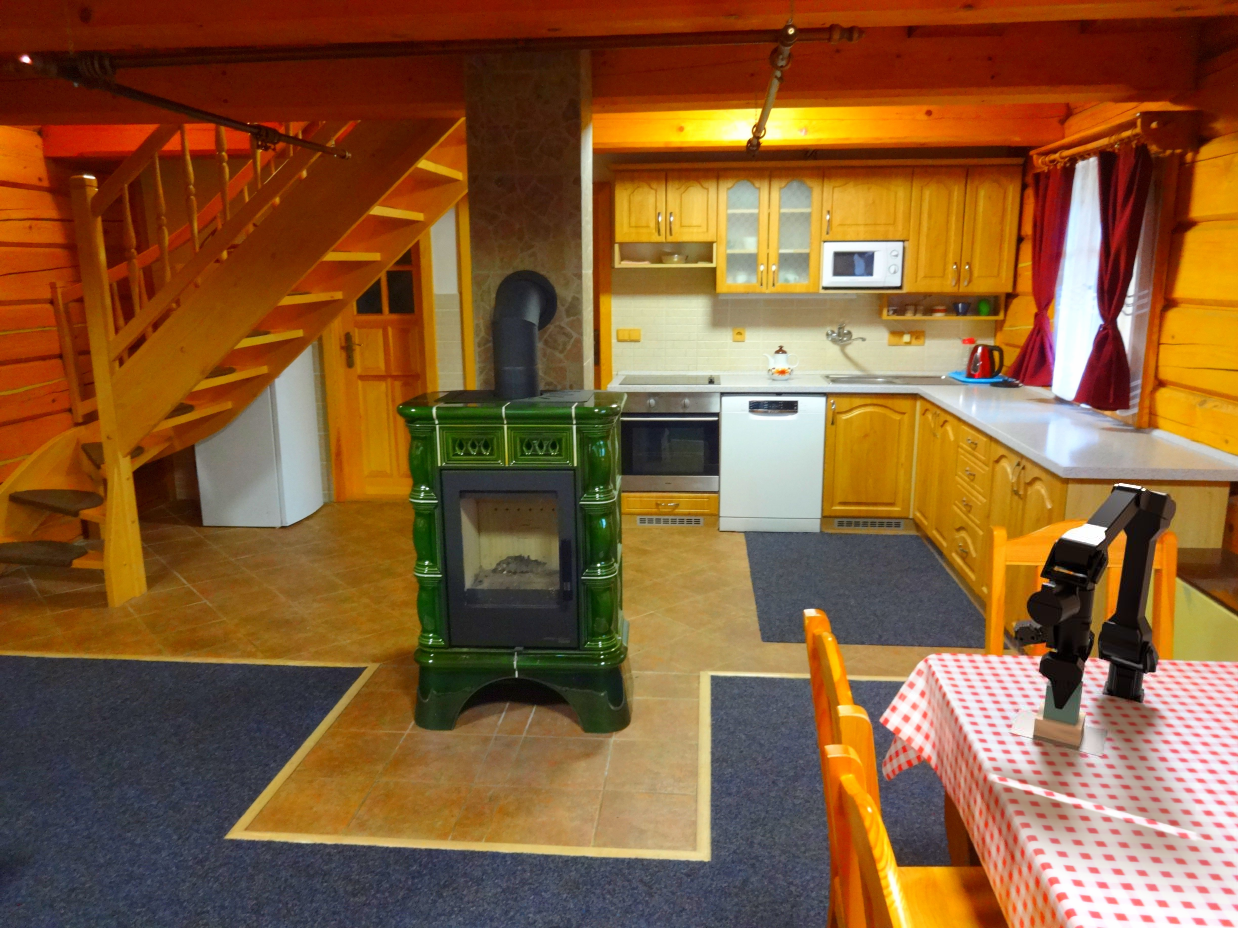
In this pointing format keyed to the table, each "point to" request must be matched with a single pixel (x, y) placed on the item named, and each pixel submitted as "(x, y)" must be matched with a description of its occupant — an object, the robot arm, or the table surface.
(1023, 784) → the table surface
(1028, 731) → the baseplate
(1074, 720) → the teal block
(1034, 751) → the table surface
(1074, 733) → the maple base block
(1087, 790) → the table surface
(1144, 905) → the table surface
